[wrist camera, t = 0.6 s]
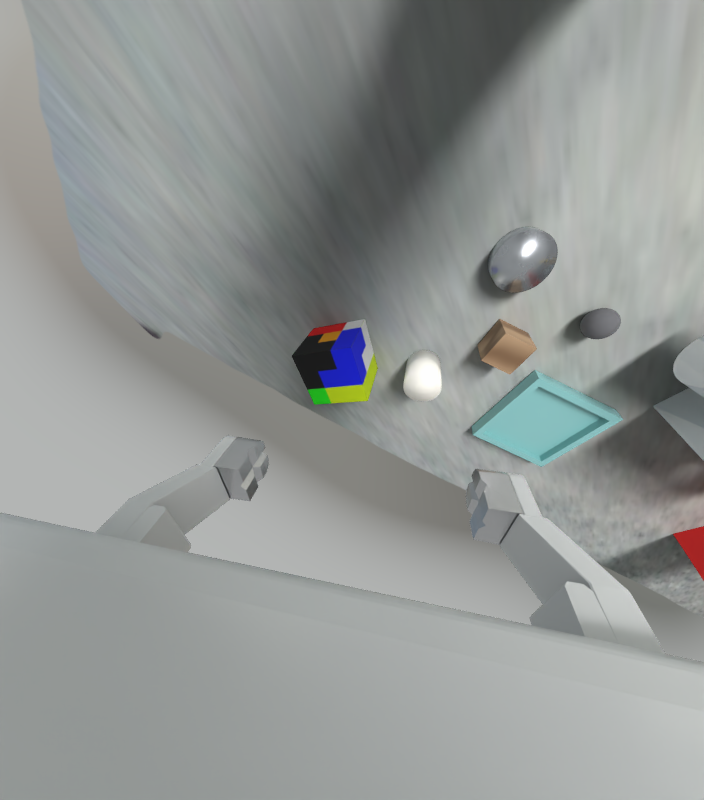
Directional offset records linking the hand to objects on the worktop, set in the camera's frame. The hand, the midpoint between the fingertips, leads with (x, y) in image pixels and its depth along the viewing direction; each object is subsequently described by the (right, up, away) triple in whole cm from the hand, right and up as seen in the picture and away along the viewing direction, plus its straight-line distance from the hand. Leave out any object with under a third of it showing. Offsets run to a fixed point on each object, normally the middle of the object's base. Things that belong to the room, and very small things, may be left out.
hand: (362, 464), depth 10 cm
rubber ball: (+33, +13, +25) cm, 43 cm away
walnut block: (+23, +12, +32) cm, 41 cm away
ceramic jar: (+13, +9, +38) cm, 41 cm away
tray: (+34, -1, +39) cm, 52 cm away
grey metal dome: (+21, +21, +25) cm, 39 cm away
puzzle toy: (-1, +12, +40) cm, 42 cm away
